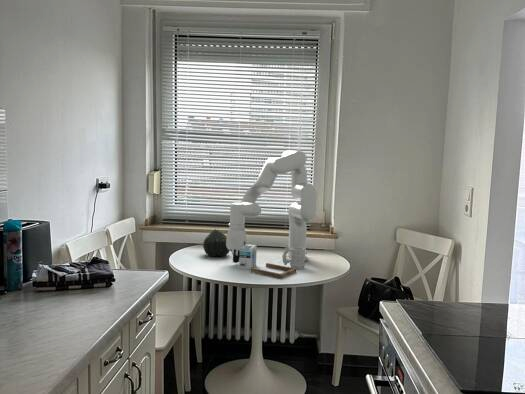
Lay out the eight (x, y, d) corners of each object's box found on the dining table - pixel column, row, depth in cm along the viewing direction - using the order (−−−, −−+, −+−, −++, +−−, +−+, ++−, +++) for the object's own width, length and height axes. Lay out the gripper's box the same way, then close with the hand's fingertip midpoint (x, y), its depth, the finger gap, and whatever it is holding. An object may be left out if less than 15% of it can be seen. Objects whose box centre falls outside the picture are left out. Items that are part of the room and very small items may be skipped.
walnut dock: (267, 266, 230) (267, 262, 229) (296, 272, 220) (296, 268, 220) (250, 272, 218) (250, 268, 218) (280, 278, 208) (281, 274, 208)
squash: (225, 250, 239) (229, 226, 248) (198, 249, 242) (203, 226, 251) (230, 263, 250) (234, 240, 259) (204, 262, 253) (209, 239, 262)
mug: (306, 269, 227) (307, 246, 225) (282, 269, 226) (283, 245, 225) (303, 266, 234) (304, 243, 233) (281, 265, 233) (282, 242, 232)
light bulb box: (251, 270, 222) (252, 248, 221) (238, 269, 223) (239, 247, 222) (256, 265, 232) (257, 244, 231) (243, 264, 233) (244, 243, 232)
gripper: (221, 226, 231) (220, 261, 233) (244, 229, 223) (243, 266, 224) (230, 224, 237) (229, 258, 239) (253, 227, 229) (252, 263, 231)
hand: (236, 262), depth 232 cm, fingers closed
